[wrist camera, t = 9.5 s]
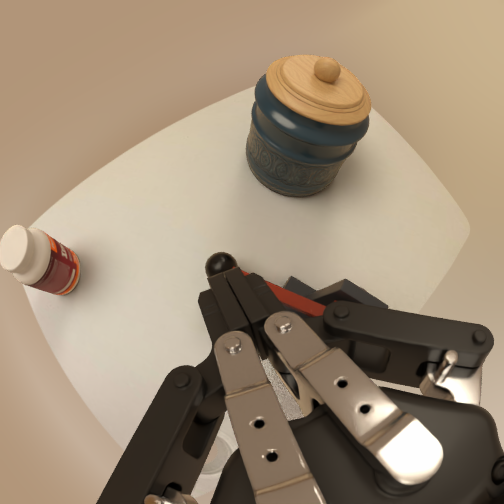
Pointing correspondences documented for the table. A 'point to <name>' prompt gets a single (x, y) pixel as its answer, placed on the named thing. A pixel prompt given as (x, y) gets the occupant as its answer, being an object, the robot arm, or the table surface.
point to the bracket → (331, 294)
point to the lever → (226, 262)
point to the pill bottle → (39, 260)
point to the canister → (305, 123)
